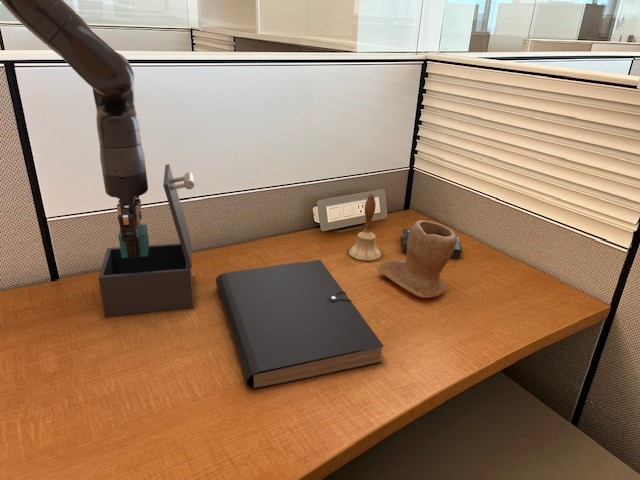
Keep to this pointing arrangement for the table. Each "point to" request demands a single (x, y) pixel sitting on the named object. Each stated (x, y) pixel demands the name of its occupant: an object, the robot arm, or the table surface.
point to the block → (142, 242)
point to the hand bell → (366, 237)
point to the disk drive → (455, 253)
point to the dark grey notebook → (294, 324)
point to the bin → (146, 281)
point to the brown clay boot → (422, 259)
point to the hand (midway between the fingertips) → (135, 250)
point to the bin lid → (179, 208)
